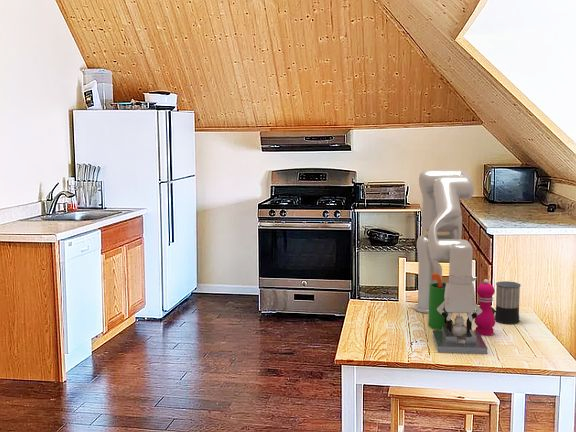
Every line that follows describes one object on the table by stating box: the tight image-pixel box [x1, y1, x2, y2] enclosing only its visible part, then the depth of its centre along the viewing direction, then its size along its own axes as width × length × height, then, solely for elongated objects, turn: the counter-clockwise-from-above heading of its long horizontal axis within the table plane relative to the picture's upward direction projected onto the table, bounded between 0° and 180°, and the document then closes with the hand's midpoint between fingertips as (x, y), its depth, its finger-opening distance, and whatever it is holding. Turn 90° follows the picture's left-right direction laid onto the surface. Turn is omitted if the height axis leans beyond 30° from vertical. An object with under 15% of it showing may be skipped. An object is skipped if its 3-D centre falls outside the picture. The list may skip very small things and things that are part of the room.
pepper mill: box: [474, 278, 496, 337], centre depth 229 cm, size 7×7×20 cm
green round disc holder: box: [427, 273, 454, 330], centre depth 238 cm, size 10×9×20 cm
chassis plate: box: [432, 326, 488, 355], centre depth 217 cm, size 18×16×4 cm
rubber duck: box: [451, 314, 467, 336], centre depth 217 cm, size 5×7×8 cm
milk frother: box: [475, 280, 522, 325], centre depth 247 cm, size 14×16×15 cm
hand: (458, 330), depth 217 cm, fingers closed on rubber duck, 5 cm apart
